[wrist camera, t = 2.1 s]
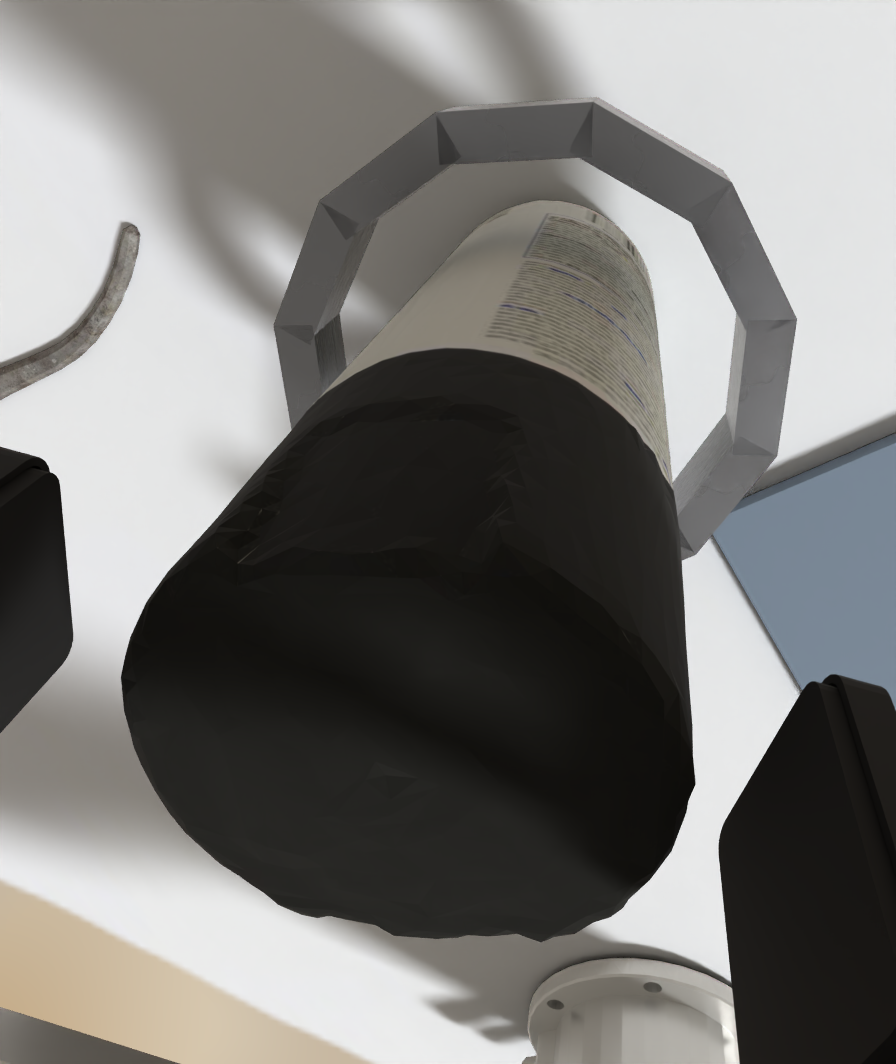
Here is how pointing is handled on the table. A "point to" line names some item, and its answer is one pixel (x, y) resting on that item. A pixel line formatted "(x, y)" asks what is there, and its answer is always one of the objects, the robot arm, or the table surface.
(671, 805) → the spray can
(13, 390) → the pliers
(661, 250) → the table surface
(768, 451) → the ring stand
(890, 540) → the mat
